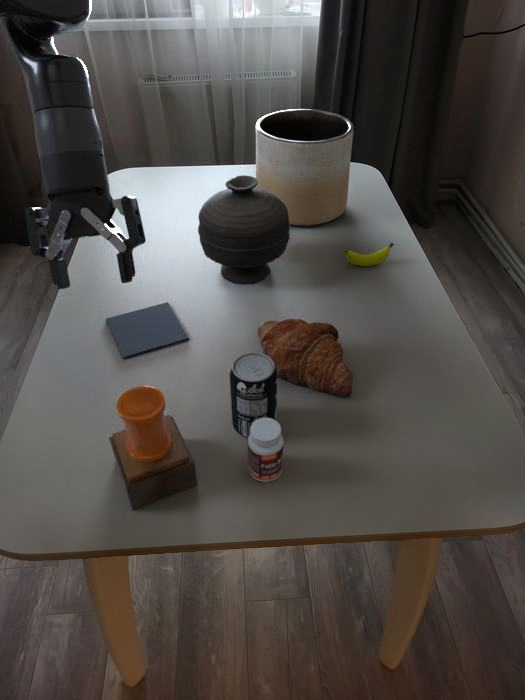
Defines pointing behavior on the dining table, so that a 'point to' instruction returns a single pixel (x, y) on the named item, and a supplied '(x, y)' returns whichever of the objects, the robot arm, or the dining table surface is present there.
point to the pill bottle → (265, 450)
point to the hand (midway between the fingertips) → (95, 285)
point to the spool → (144, 423)
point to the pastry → (307, 354)
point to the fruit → (368, 257)
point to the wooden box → (154, 469)
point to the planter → (305, 162)
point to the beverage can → (252, 390)
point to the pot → (244, 230)
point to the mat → (146, 330)
